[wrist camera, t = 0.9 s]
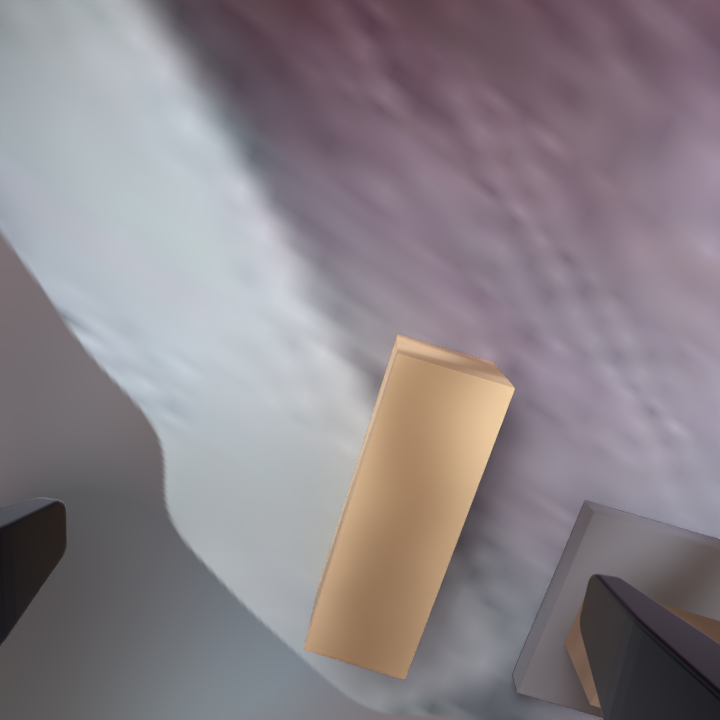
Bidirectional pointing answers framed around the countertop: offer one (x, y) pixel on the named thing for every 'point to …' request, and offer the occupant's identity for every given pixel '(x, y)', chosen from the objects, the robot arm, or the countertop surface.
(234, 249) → the countertop surface
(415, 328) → the countertop surface
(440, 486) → the oak bar
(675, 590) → the balance stand
